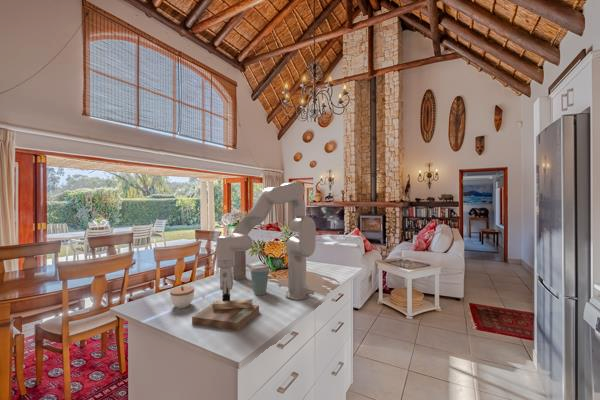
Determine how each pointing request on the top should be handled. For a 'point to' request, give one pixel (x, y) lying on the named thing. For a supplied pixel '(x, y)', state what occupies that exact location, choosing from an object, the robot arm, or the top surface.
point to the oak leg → (232, 304)
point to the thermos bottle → (239, 265)
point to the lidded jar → (182, 296)
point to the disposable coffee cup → (259, 278)
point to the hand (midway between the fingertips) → (226, 303)
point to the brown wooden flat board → (225, 317)
